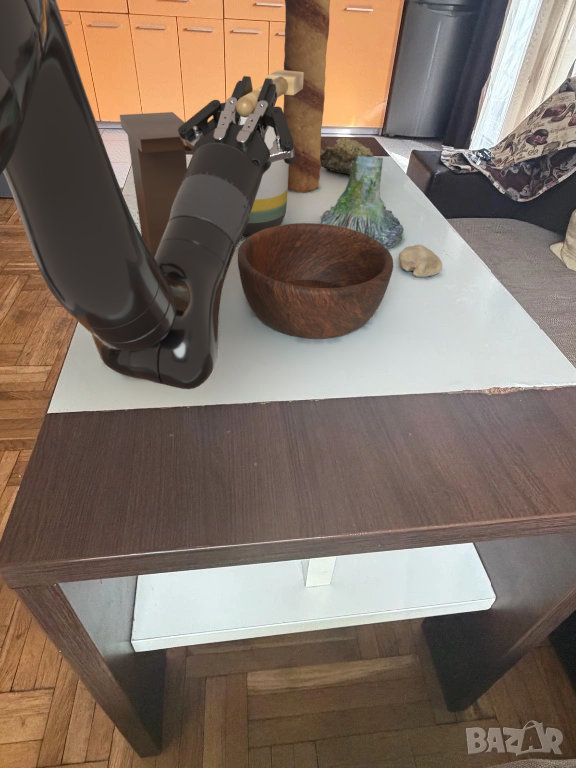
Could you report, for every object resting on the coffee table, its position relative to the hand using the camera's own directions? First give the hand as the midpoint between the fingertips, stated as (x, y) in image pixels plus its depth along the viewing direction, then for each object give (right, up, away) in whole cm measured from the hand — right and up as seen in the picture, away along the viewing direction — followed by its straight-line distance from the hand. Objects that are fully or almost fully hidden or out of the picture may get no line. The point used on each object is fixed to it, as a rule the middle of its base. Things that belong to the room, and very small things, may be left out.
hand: (259, 84), depth 60 cm
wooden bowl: (+7, -21, +31) cm, 38 cm away
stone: (+29, -12, +44) cm, 54 cm away
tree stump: (+19, 0, +57) cm, 61 cm away
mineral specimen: (+20, +25, +89) cm, 94 cm away
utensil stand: (-14, -25, +24) cm, 38 cm away
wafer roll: (+6, +18, +79) cm, 81 cm away
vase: (-6, +1, +57) cm, 57 cm away
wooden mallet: (+1, +1, +5) cm, 6 cm away
